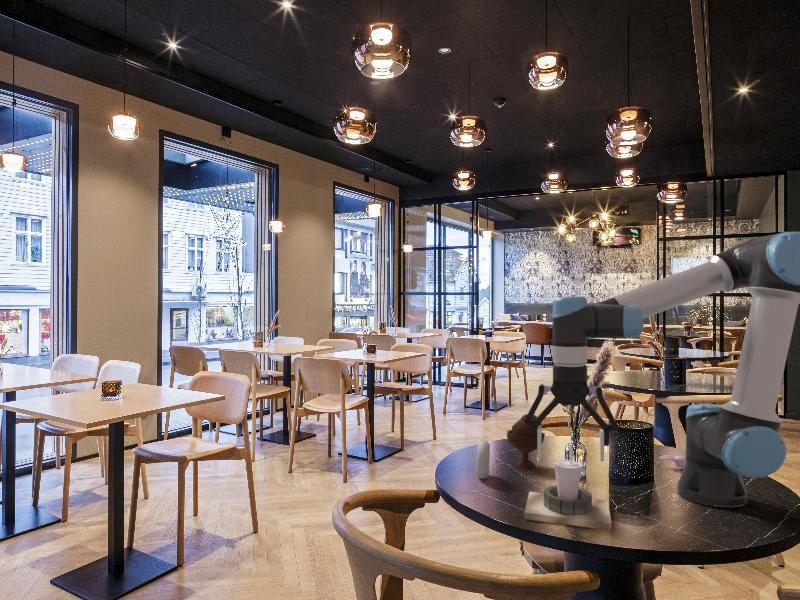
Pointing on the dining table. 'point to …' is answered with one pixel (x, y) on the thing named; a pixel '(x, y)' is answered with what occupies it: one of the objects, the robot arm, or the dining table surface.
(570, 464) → the smoothie
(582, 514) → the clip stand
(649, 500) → the dining table surface
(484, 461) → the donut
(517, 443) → the ice cream bowl
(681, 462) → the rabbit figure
